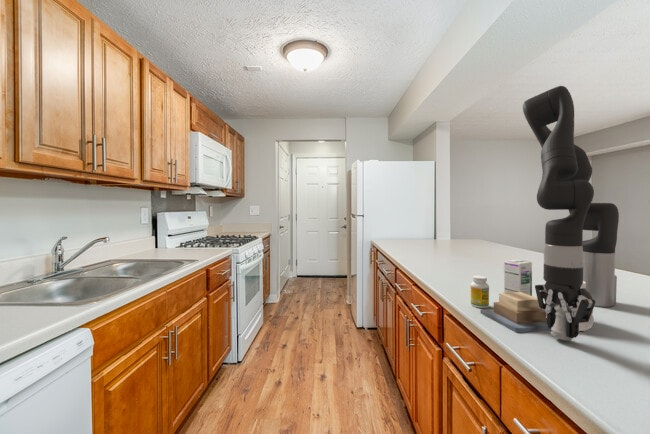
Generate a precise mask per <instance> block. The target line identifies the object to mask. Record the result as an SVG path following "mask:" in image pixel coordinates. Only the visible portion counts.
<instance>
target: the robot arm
mask: <svg viewBox="0 0 650 434" xmlns="http://www.w3.org/2000/svg"><path fill="white" fill-rule="evenodd" d="M572 97H573V96H572V95H571V92H570V90H569V89H568V88H567V87H566V86H564V85H559V86H556V87H553V88H550V89H549V90H546V91H544V92H541V93H539V94H537V95H535V96H533V97H531V98H528V99H527V100H524V102H523V104H522V113H523V115H524V117H525V119H526V122H527V124H528V126H529V127H530V129H531V131H532V132H533V135H534V136H535V138H536V139H537V141H538V143H539V144H540V147H541V151H540V160H541V161H540V162H541V167H542V168H541V169H542V171H541V172H542V173H541V175H542V176H541V180H540V184H539V186H538V189H537V193H536V202H537V204H538V206H540V208H542V209H544V210H550V211H554V210H556V211H558V210H560V211H561V210H562V211H563V210H566V211H568V212H569V213H568V214H569V215H568V216H566V217H562V218H558V219H552V220H549V221H547V222H546V223H545V227H544V228H545V231H544V235H545V236H544V237H545V239H544V241H545V242H544V250H543V280H544V281H545V283H544V284H536V285H534V289H535V293H536V294H535V295H536V298H537V299H538V303H539V307H540V309H543V310H545V312H546V318H547V325H548V328H550V330H551V328H552V327H553V325H554V324H555V320H556V314H555V313H556V310H555V308H554V307H555V306H556V304H559V305H561V306H562V309H563V311H564V312H565V314H566V318H567V322H566V336H567V337H569V338H573V339H574V338H577V337H578V336H580V335H579V332H580V331H579V323H583V322H588V321H589V319H590V316H591V313H592V311H593V312H594V308H595V307H602V308H609V307H614V305H617V285H618V284H617V281H618V280H617V279H618V276H617V275H616V274H615V271H616V266H615V265H616V246H617V242H618V230H619V228H618V227H619V219H620V214H619V213H620V212H619V209H618V206H617V205H616V204H614V203H613V202H593V199H594V196H595V190H594V187H593V185H592V184H591V183H590V180H591V178H592V176H593V168H592V167H593V166H592V164H591V162H590V159H589V157H588V155H587V152H586V151H585V150H584V149H582V147H580V146H579V145H576V144H575V141H574V140H575V137H574V136H575V134H574V133H575V105H574V100H573V98H572ZM554 123H556V124H555V126H554V128H553V129H552V130H551V129H550V128H549V127H548V125H552V124H554ZM583 231H594V232H595V231H596V232H597V235H596V236H594V237H592V238H590V239H586V240H583V237H584V236H583V233H584V232H583ZM583 281H585V282H586V288H585V289H586V290H587V291H589V292H590V294H591V295H592V298H593V299H588V298H586V297H584V296H583V295H582V292H581V289H580V288H581V285H582V284H583ZM578 301H579V303H578ZM569 306H573V307H572V308H569ZM572 312H573V316H574V317H573V316H572Z"/></svg>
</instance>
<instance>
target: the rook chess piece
mask: <svg viewBox="0 0 650 434" xmlns="http://www.w3.org/2000/svg"><path fill="white" fill-rule="evenodd" d="M554 308H555V310H556V313H555V314H556V320H555V324H554V325H553V327H552V328H551V329H550V331H551V332H550V334H551V336H552V337H554V338H555V339H557V340H560V341H572V340H573V339H574V338H569V337H567V336H566V322H567V318H566V314H565V312H564V311H563V309H562V306H561V305H559V304H556V306H555V307H554Z"/></svg>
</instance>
